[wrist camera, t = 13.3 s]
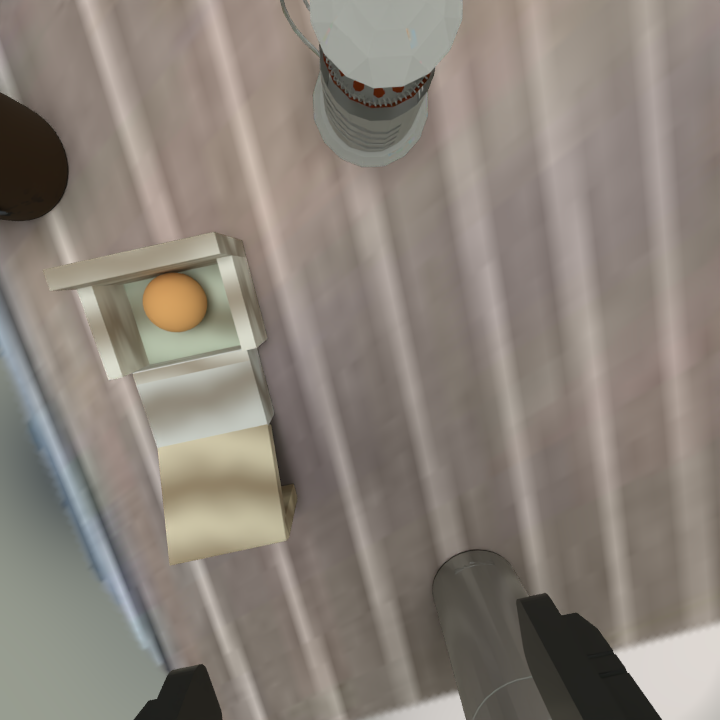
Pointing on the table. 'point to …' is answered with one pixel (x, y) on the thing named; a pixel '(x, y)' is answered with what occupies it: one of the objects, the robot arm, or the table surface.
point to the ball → (174, 302)
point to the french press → (376, 72)
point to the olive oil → (28, 163)
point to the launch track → (194, 390)
